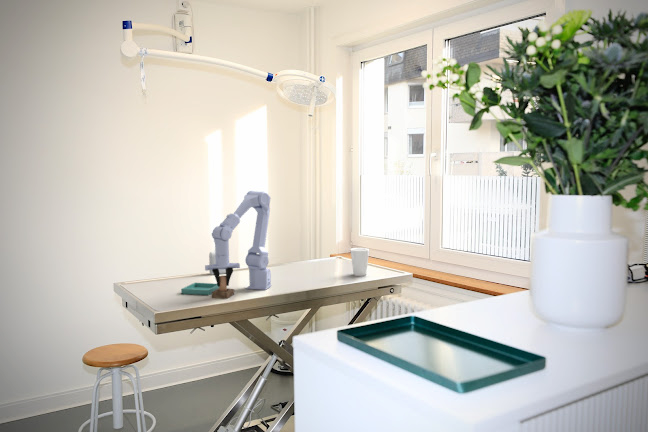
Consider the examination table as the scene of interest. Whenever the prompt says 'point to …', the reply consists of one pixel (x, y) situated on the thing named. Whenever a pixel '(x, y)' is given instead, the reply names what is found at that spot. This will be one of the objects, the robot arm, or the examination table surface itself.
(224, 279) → the dowel
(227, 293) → the walnut holder
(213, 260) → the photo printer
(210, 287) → the teal tray
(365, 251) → the foam cup
